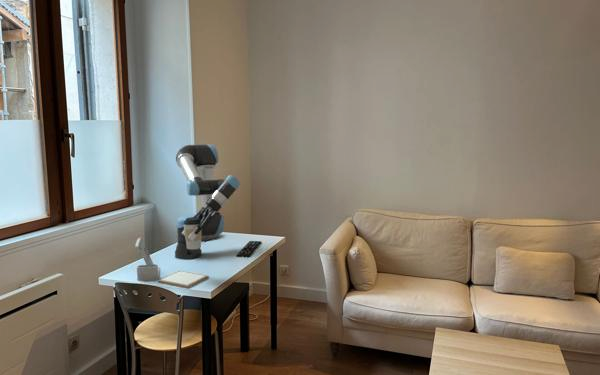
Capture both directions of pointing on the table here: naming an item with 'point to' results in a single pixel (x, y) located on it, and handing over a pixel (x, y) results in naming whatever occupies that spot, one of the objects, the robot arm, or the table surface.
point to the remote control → (249, 249)
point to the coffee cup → (188, 229)
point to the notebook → (183, 279)
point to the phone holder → (150, 269)
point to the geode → (208, 237)
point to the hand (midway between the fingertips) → (186, 236)
